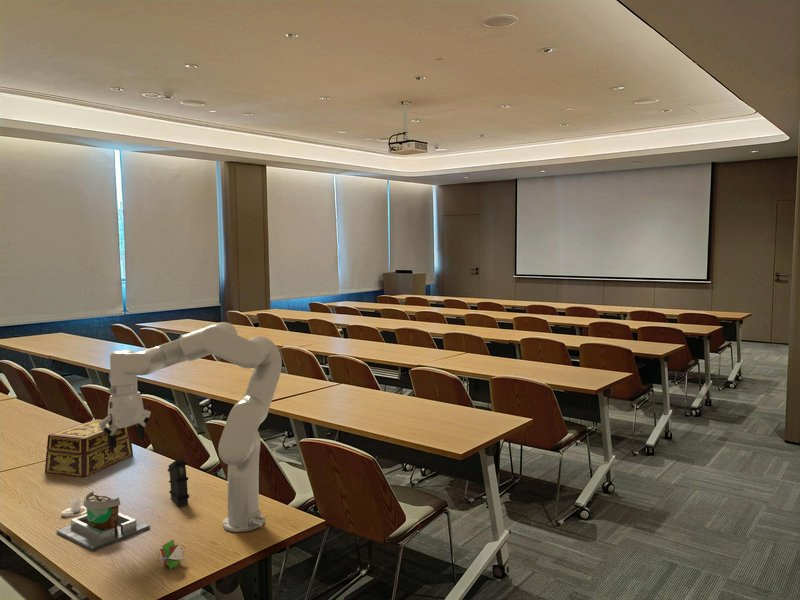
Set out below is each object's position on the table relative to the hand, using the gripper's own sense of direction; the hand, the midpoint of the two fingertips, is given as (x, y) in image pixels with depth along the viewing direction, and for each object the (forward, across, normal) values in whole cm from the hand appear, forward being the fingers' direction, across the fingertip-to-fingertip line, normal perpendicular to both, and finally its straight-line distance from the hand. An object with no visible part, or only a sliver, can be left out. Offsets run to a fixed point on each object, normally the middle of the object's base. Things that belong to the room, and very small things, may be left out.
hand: (126, 443), depth 190 cm
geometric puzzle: (+26, -11, -35) cm, 45 cm away
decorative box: (+25, +24, +61) cm, 70 cm away
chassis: (+25, -9, 0) cm, 27 cm away
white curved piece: (+25, -8, +24) cm, 35 cm away
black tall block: (+26, +19, +1) cm, 32 cm away
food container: (+24, -11, 0) cm, 27 cm away
